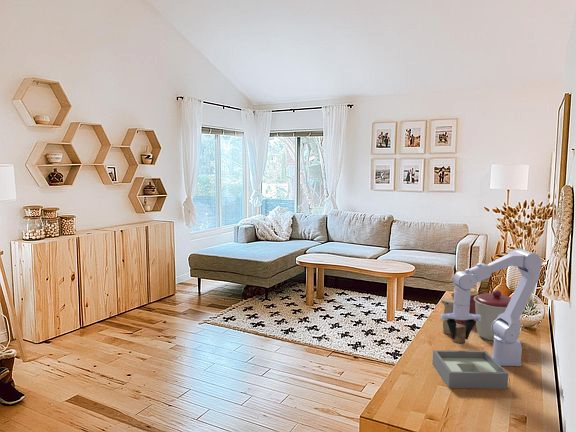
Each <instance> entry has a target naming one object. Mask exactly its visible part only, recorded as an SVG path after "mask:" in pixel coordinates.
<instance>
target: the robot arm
mask: <svg viewBox="0 0 576 432" xmlns="http://www.w3.org/2000/svg"><path fill="white" fill-rule="evenodd" d="M512 266H513V267H517V268H518V269H519V273H520V274H521V278H520V279H519V281H518V283H517V285H516V288H515V289H514V291H513V294H512V296H511V300H510V302H509V304H508V306H507V308H506V310H505V312H504V313H502V314H499V315H498V317H497V319H496V320H494V321H493V323H492V325H491V329H492V331H493V332H494V341H493V346H492V347H493V348H492V349H493V350H492V355H491V356H492V357H493V358H494V359H495V360H496V361H497V362H498V363H499V365H500V366H501V367H503V366H507V367H512V366H513V367H521V366H522V363H521V362H522V351H523V349H522V343H521V342H520V340H519V338H520V331H521V329H522V325H521V322H520V321H521V320H520V319H521V316H522V314H523V312H524V311H525V308H526V306H527V304H528V302H529V300H530V298H531V296H532V294H533V292H534V289H535V287H536V285H537V283H538V281H539V279H540V276H541V275H540V274H541V267H542V266H543V260H542V259H541V257H540V255H539V254H538V253H535V252H532V251H528V250H525V249H523V248H520V247H518V248H515V249H514V250H510V251H509V252H508V253H507V254H505V255H503V256H501V257H500V258H497V259H495V260H493V261H491V262H490V263H488V264H486V263H483V262H482V263H481V262H478V263H476V265H475V266H473V267H470V268H466V269H464V271H462V270H459V271H456V272H455V273H454V275H453V277H451V280H452V283H453V285H454V289H455V290H454V289H453V290H454V291H453V293H454V305H453V313H446V314H444V313H440V320H441V321H443V320H446V321H447V323H448V326H449V329H450V334H449V335H450V338H451V339H452V340H453V339H455V329H456V325H457V322H455V321H454V320H464V323H465V324H464V326H465V327H466V338H465V340H469V336H470V335H471V332H472V331H473V329H474V327H475V326H476V323H475V322H474V320H478V321H481V316H480V315H479V314H469V310H470V295H471V289H472V288H474V286H475V285H476V284H477V283H481V282H483V281H484V280H487V279H490V278H491V276H492V273H494V272H498V271H501V270H503V269H505V268H508V267H512Z"/></svg>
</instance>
